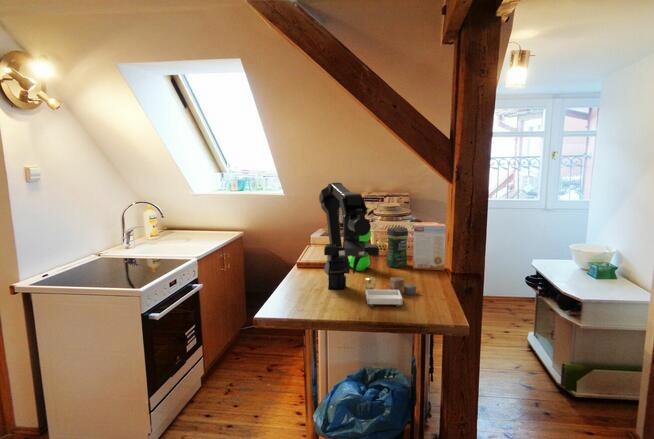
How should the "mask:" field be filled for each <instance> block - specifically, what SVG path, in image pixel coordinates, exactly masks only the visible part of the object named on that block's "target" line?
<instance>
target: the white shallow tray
mask: <svg viewBox="0 0 654 439" xmlns="http://www.w3.org/2000/svg"><path fill="white" fill-rule="evenodd" d="M365 296H366V303H367V305H369V307H370V308H373V307H374V305H395V307H396V308H400V307H401V305H403V300H404V299H403V296H402V295H401V294H400V291H399V290H390V289H376V290H369V289H366V293H365Z"/></svg>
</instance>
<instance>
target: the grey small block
mask: <svg viewBox="0 0 654 439" xmlns="http://www.w3.org/2000/svg"><path fill="white" fill-rule="evenodd" d="M403 295H406V296H415V295H417V286H416V285H414V284H404V294H403Z"/></svg>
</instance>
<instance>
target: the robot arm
mask: <svg viewBox="0 0 654 439" xmlns="http://www.w3.org/2000/svg"><path fill="white" fill-rule="evenodd" d="M319 193H320V194H319V196H318V201H319V204H320V206H321V209H322V210H323V212H324V213H325V214H326V224H327V231H328V239H329V241H328V242H329V243H325V245H324V248H323V249H324V250H323V254H324V256H326V258H327V259H326V262H325V265H324V269H323V270H324V273H325V274H326V275H327V276H328V282H327V283H328V285H327V289H328V291H333V290H334V291H345V288H346V287H347V276H346V275H345V274H348V275H350V267H351V266H350V262H349V257H350V256H355V257H354V265H353V268H352V274H353V275H355V273H356V271H357V270H356V267H357V264H358V262H359V260H360V259H361V258H364V252H367V253H368V256H369V257H370V256H371V257H372V256H373V257H374V256H375V257H378V256H380V249H379V246H378V244H374V243H373V244H372V243H371V244H370V243H368V244H367V247H365V241H360V236H364V235H366V234H368V233H369V231H370V230H371V226H372V224H371V223H370V221H369V220H368V219H367V218H366V216H367V215H368V208H367V204H366V202H365V199H364V197H363V196H362V194H361V193H358V192H351V191H349V189H348V188H347V187H345V186H344V185H343V183H341V182H330V183H328V184H327V186H326V187H325V188H323V189H321V190H320V192H319ZM339 209H341V212H342V216H343V219H342V224H343V225H342V228H343V229H342V230H343V232H342V235H343V236H341V228H340V221H339V220H340V219H339V212H338V211H339ZM342 238H343V239H342Z"/></svg>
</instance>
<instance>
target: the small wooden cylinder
mask: <svg viewBox="0 0 654 439" xmlns="http://www.w3.org/2000/svg"><path fill="white" fill-rule="evenodd" d="M376 282H377V278H376V277H373V276H367V277H365V281H364V294H366V289H369V290H377V288H376V287H377V286H376V284H377V283H376Z"/></svg>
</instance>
